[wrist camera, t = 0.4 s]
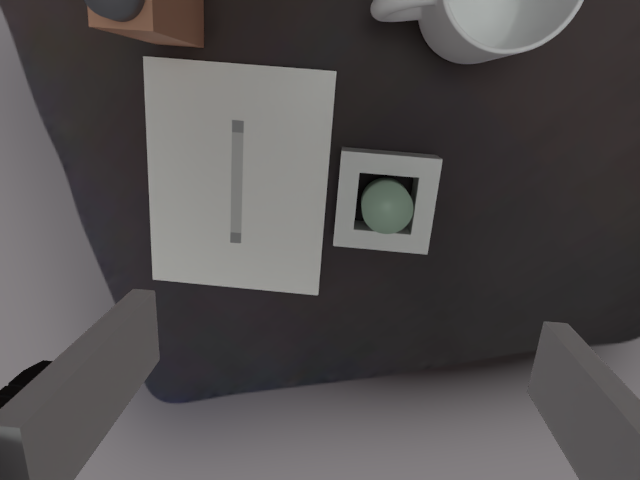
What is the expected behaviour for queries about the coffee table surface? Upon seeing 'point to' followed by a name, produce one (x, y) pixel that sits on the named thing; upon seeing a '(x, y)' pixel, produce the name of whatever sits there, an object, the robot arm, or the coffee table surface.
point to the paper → (237, 172)
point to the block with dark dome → (151, 20)
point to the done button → (386, 206)
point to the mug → (481, 24)
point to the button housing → (422, 195)
